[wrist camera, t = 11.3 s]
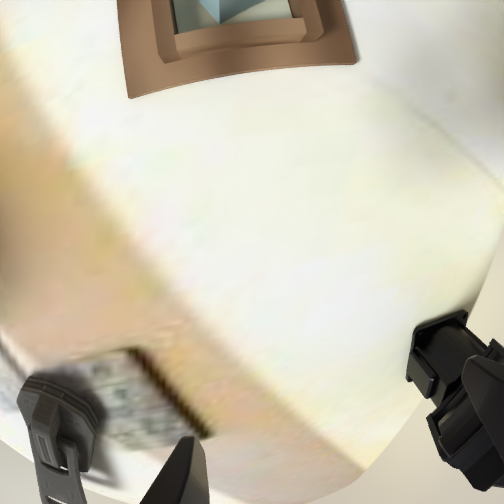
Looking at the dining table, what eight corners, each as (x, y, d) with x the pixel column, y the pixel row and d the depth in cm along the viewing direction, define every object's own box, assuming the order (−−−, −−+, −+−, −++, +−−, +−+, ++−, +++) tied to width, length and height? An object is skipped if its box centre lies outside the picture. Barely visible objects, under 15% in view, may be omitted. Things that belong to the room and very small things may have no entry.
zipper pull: (38, 503, 23) (-10, 409, 15) (49, 472, 29) (20, 365, 22) (95, 526, 24) (79, 453, 17) (102, 492, 30) (99, 399, 23)
